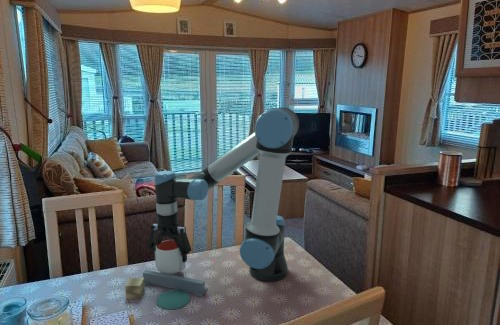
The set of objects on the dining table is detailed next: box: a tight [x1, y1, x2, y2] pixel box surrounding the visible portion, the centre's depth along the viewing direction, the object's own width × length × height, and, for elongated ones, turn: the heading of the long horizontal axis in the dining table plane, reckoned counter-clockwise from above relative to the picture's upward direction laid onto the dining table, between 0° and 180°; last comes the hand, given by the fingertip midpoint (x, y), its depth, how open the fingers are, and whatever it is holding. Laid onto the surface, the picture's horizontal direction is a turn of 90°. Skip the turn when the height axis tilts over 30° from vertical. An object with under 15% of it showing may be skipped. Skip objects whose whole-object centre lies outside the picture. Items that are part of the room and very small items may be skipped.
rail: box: [142, 269, 208, 298], centre depth 125 cm, size 24×5×4 cm, turn 72°
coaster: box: [156, 289, 191, 311], centre depth 117 cm, size 11×11×1 cm
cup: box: [156, 239, 181, 275], centre depth 132 cm, size 10×10×10 cm
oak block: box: [124, 277, 146, 300], centre depth 120 cm, size 5×5×5 cm
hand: (170, 267), depth 133 cm, fingers closed on cup, 10 cm apart
